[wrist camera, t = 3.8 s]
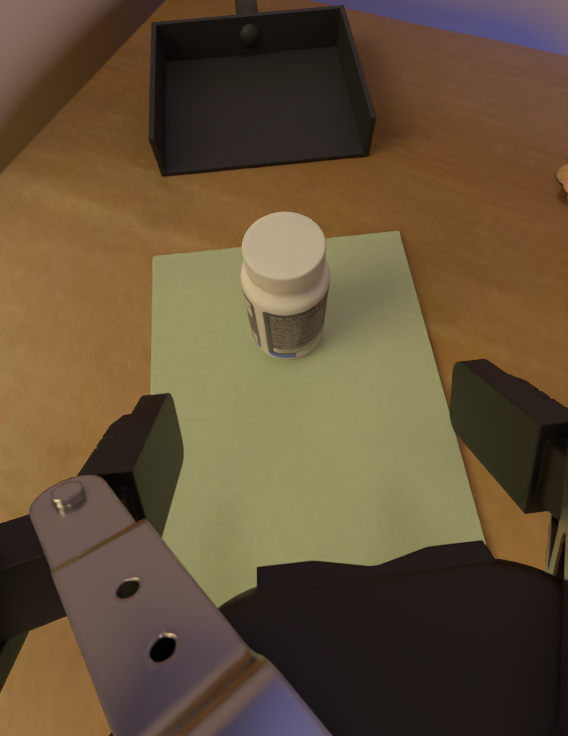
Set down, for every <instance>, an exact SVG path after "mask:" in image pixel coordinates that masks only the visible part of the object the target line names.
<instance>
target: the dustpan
mask: <svg viewBox="0 0 568 736" xmlns="http://www.w3.org/2000/svg"><path fill="white" fill-rule="evenodd" d="M235 4H236V13H237V15H229V16H218V17H207V18H195V19H184V20H173V21H162V22H152V26H151V69H150V111H149V141H150V144H151V147H152V149H153V152H154V155H155V158H156V160H157V163H158V166H159V169H160V171H161V174H162V176H170V175H180V174H190V173H200V172H210V171H220V170H230V169H240V168H250V167H261V166H271V165H281V164H291V163H301V162H311V161H321V160H331V159H341V158H352V157H362V156H369V151H370V146H371V141H372V136H373V132H374V127H375V122H376V114H375V111H374V108H373V104H372V101H371V97H370V94H369V90H368V87H367V83H366V80H365V77H364V73H363V70H362V66H361V63H360V59H359V56H358V52H357V49H356V46H355V42H354V39H353V35H352V32H351V28H350V25H349V21H348V18H347V15H346V11H345V8H344V5H340V6H329V7H318V8H307V9H296V10H285V11H273V12H262V13H258V9H257V2H256V0H235ZM334 46H337V47H334ZM323 47H328V48H323ZM312 48H318V49H312ZM302 49H307V50H302ZM291 50H296V51H291ZM280 51H285V52H280ZM269 52H274V53H269ZM258 53H263V54H258ZM247 54H252V55H247ZM236 55H242V56H236ZM226 56H231V57H226ZM215 57H220V58H215ZM204 58H209V59H204ZM193 59H198V60H193ZM182 60H187V61H182ZM171 61H177V62H171Z"/></svg>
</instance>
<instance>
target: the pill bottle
mask: <svg viewBox="0 0 568 736" xmlns="http://www.w3.org/2000/svg"><path fill="white" fill-rule="evenodd" d="M242 254H243V260H244V262H243V264H242V268H241V274H240V280H241V286H242V291H243V295H244V299H245V304H246V308H247V313H248V317H249V322H250V327H251V331H252V335H253V338H254V340H255V342H256V344H257V345H258V346H259V347H260V348H261V349H262V350H263V351H264V352H265V353H266V354H268V355H270V356H272V357H275V358H278V359H283V360H290V359H296V358H300V357H302V356H305V355H306V354H308V353H309V352H311V351H312V350H313V349H314V348H315V347H316V345H317V344H318V343H319V341H320V339H321V336H322V333H323V327H324V319H325V312H326V304H327V297H328V291H329V285H330V270H329V266H328V263H327V260H326V240H325V236H324V234H323V232H322V230H321V229H320V227H319V226H318V225H317V224H316V223H315V222H314V221H313V220H311V219H310V218H308V217H306V216H304V215H301V214H298V213H293V212H277V213H272V214H269V215H267V216H264V217H262V218H260V219H259V220H257V221H256V222H254V223H253V224H252V225H251V226H250V227H249V229H248V230H247V232H246V233H245V236H244V239H243V242H242Z"/></svg>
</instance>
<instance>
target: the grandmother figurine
mask: <svg viewBox="0 0 568 736" xmlns="http://www.w3.org/2000/svg"><path fill="white" fill-rule="evenodd" d="M556 177H557V179H558V181H559V182H560V183H562V184H564V189H565V191H566V192H567V193H568V164H567V165H564V166H562V167H561V168H559V169H558V170H557V172H556ZM567 202H568V196H567Z"/></svg>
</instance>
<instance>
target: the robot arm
mask: <svg viewBox="0 0 568 736" xmlns="http://www.w3.org/2000/svg"><path fill="white" fill-rule="evenodd" d="M450 421H451V425H452V427H453V430H454V431H455V433H456V434H457V435H458V436H459V438H460V439H461V440H462V441H463V442H464V443H465V445H466V446H467V447H468V448H469V449H470V450H471V452H472V453H473V454H474V455H475V456H476V457H477V459H478V460H479V461H480V462H481V463H482V464H483V466H484V467H485V468H486V469H487V470H488V471H489V473H490V474H491V475H492V476H493V477H494V478H495V480H496V481H497V482H498V483H499V484H500V485H501V487H502V488H503V489H504V490H505V491H506V492H507V494H508V495H509V496H510V497H511V498H512V499H513V501H514V502H515V503H516V504H517V505H518V506H519V507H520V509H521V510H522V511H523V512H524V513H525V514H527V513H536V512H544V511H549V512H550V513H551V519H550V523H549V528H548V540H547V551H546V562H545V571H543V570H540V569H537V568H534V567H532V566H528V565H525V564H521V563H517V562H513V561H508V560H503V559H495V558H494V557H493V555H492V554H491V552H490V551H489V549H488V548H487V546H486V545H485V543H484V542H483V540H478V541H470V542H462V543H453V544H445V545H436V546H428V547H425V548H422V549H420V550H417V551H414V552H412V553H409V554H406V555H404V556H401V557H398V558H396V559H393V560H390V561H388V562H385V563H382V564H379V565H375V566H365V565H355V564H345V563H335V562H325V561H315V560H311V561H303V562H294V563H286V564H278V565H269V566H261V567H257V586H256V587H254V588H251V589H249V590H246V591H244V592H242V593H240V594H238V595H236V596H234V597H233V598H231V599H230V600H228V601H227V602H225V603H223V604H222V605H221V606H219V607H218V608H217V607H216V606H215V604H214V603H213V602H212V601H211V599H210V598H209V597H208V596H207V594H206V593H205V592H204V591H203V589H202V588H201V587H200V586H199V584H198V583H197V582H196V581H195V579H194V578H193V577H192V576H191V574H190V573H189V572H188V570H187V569H186V568H185V567H184V565H183V564H182V563H181V562H180V560H179V559H178V558H177V557H176V555H175V554H174V553H173V552H172V550H171V549H170V548H169V547H168V545H167V544H166V543H165V542H164V540H163V539H162V536H163V532H164V528H165V525H166V521H167V518H168V514H169V511H170V507H171V504H172V500H173V497H174V493H175V489H176V486H177V482H178V479H179V475H180V472H181V468H182V465H183V459H184V447H183V440H182V436H181V431H180V427H179V422H178V417H177V413H176V408H175V404H174V400H173V397H172V395H171V394H170V393H162V394H153V395H144V396H142V397H141V398H140V400H139V401H138V403H137V405H136V407H135V408H134V410H133V412H132V413H131V414H127V415H123V416H122V417H121V418H119V419H118V420H117V421H115V422H114V423H113V424H111V425H110V427H109V428H108V430H107V431H106V433H105V434H104V436H103V439H101V440H100V442H99V443H98V445H97V446H96V447H97V449H94V451H93V453H92V454H91V456H90V457H89V459H88V460H87V462H86V463H85V465H84V466H83V468H82V469H81V471H80V472H79V474H78V475H77V476H76V477H72V478H69V479H66V480H63V481H61V482H59V483H57V484H55V485H53V486H51V487H50V488H48V489H47V490H45V491H44V492H43V493H41V494H40V495H39V496H38V497H37V498H36V499H35V500H34V502H33V503H32V505H31V507H30V511H29V515H26V516H23V517H20V518H16V519H13V520H10V521H7V522H4V523H1V524H0V692H1V690H2V688H3V686H4V684H5V681H6V679H7V677H8V675H9V673H10V671H11V669H12V667H13V664H14V662H15V660H16V658H17V656H18V654H19V652H20V650H21V647H22V645H23V643H24V641H25V639H26V637H27V635H28V632H29V631H31V630H33V629H35V628H38V627H40V626H43V625H45V624H48V623H50V622H53V621H55V620H58V619H60V618H63V617H65V616H67V617H68V619H69V622H70V625H71V627H72V630H73V632H74V635H75V638H76V640H77V643H78V645H79V648H80V651H81V653H82V656H83V658H84V661H85V664H86V666H87V669H88V671H89V674H90V676H91V679H92V682H93V684H94V687H95V689H96V692H97V695H98V697H99V700H100V702H101V705H102V708H103V710H104V713H105V715H106V718H107V721H108V723H109V726H110V728H111V731H112V733H111V734H110V735H109V736H568V408H566V407H565V406H563V405H562V404H560V403H559V402H557V401H556V400H554V399H550V396H548V395H547V394H545V393H544V392H542V391H539V389H538V388H536V387H535V386H533V385H532V384H530V383H529V382H527V381H526V380H523V379H520V378H518V377H515V376H512V375H509V374H507V373H505V372H504V371H503V370H501V369H500V368H498V367H497V366H495V365H494V364H492V363H491V362H489V361H488V360H486V359H479V360H470V361H461V362H457V363H456V364H455V365H454V368H453V374H452V387H451V399H450Z"/></svg>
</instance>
